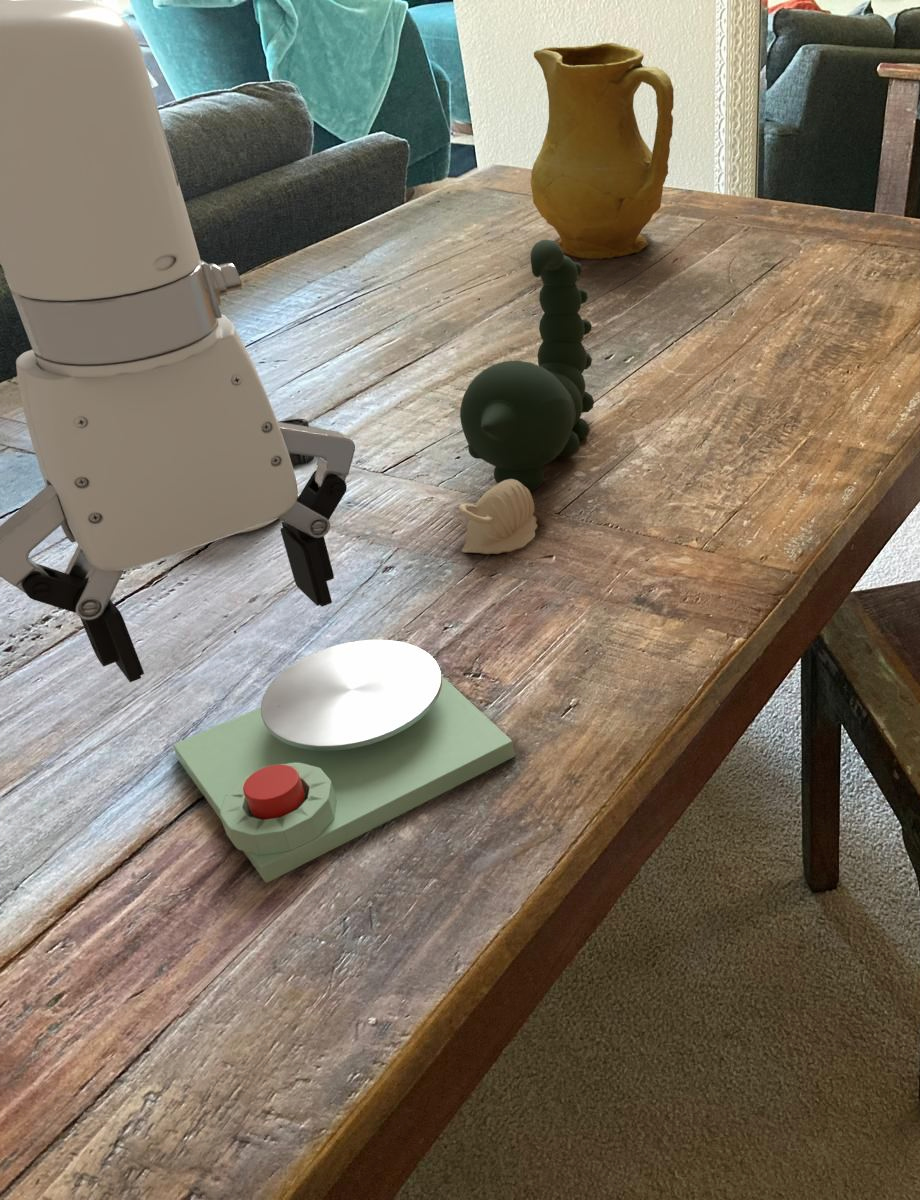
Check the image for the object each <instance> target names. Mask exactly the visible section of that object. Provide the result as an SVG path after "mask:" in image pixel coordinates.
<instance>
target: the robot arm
mask: <svg viewBox="0 0 920 1200" xmlns="http://www.w3.org/2000/svg"><path fill="white" fill-rule="evenodd" d="M158 107H159V106H158V104H157V101H156V97H155V93H154V89H153V86H152V83H151V79H150V76H149V71H148V68H147V65H146V62H145V58H144V55H143V51H142V48H141V46H140V43H139V40H138V38H137V36H136V34H135V32H134V30H133V29H132V27H131V26H130V25H129V23H128V22H127V20H125V18H123V17H122V16H121V15H120V14H119V13H117V12H116V11H114V10H112V9H111V8H110V7H108V6H104V5H102V4H98V3H94V2H91V1H85V0H0V265H1V268H2V272H3V275H4V278H5V280H6V283H7V285H8V287H9V290H10V293H11V297H12V300H13V301H14V304H15V306H16V309H17V312H18V315H19V316H20V319H21V323H22V326H23V328H24V330H25V333H26V335H27V339H28V341H29V344H30V346H31V349H30V350H27V351H25V352H23V353H20V355H19V356H18V357H17V358H16V360H15V365H16V367H15V368H16V376H17V384H18V390H19V394H20V401H21V405H22V411H23V413H24V418H25V421H26V426H27V429H28V433H29V437H30V440H31V445H32V447H33V450H34V454H35V458H36V460H37V464H38V466H39V471H40V472H41V476H42V478H43V482H44V485H45V487H44V488H43V489H42V490H41V491H39V492H38V493H37V494H36V495H35V496H33V497H32V498H31V499H30V500H29V501H28V502H26V504H24V505H23V506H22V507H21V508H19V510H18V511H15V513H14V514H12V515H11V516H10V517H9V518H8V519H7V520H6V521H5V522H3V523H2V524H1V525H0V578H1V579H3V580H5V581H6V582H7V583H9V584H11V585H12V586H13V587H16V588H17V589H18V590H20V591H21V592H23V593H24V594H26V595H27V597H28V598H30V600H33V601H36V602H40V603H42V604H46V605H48V606H52V607H55V608H57V609H62V610H65V611H68V612H71V613H73V614H74V613H75V614H76V615H77V616H78V617H79V618H80V621H81V623H82V625H83V628H84V631H85V633H86V636H87V638H88V640H89V642H90V643H89V644H90V645H91V647H92V650H93V652H94V654H95V656H96V658H97V660H98V661H99V663H100V664H101V666H102V667H107V666H109V665H112V664H114V663H115V664H116V665H117V667H118V669H119V670H120V671H121V673H122V674H123V675H124V676H125V678H126V679H127V681H128V682H129V683H133V682H135V681H137V680H141V679H142V676H143V675H145V672H144V669H143V666H142V664H141V661H140V658H139V656H138V653H137V650H136V648H135V645H134V642H133V640H132V638H131V635H130V633H129V630H128V627H127V624H126V623H125V620H124V617H123V615H122V613H121V611H120V610H119V608H118V607H117V605H115V603H114V602H113V600H112V595H113V594H114V592H115V590H116V588H117V586H118V584H119V582H120V580H121V578H122V575H123V573H124V572H125V571H126V570H127V571H128V570H131V569H136V568H138V567H141V566H145V565H149V564H151V563H155V562H158V561H160V560H163V559H167V558H169V557H172V556H176V555H178V554H181V553H184V552H187V551H189V550H192V549H195V548H199V547H202V546H204V545H208V544H210V543H213V542H216V541H219V540H222V539H224V538H228V537H230V536H234V535H236V534H240V533H239V532H242V531H245V530H248V529H251V528H253V527H256V526H259V525H261V524H264V523H267V522H269V521H272V520H274V519H276V518H278V519H279V520H280V521H282V522H281V526H282V527H280V529H279V531H280V534H281V537H282V541H283V545H284V548H285V552H286V555H287V559H288V562H289V566H290V569H291V573H292V577H293V580H294V583H295V585H296V587H297V588H298V589H299V590H300V591H301V592H302V593H303V594H304V595H305V596H306V597H307V598H308V599H309V600H310V601H311V602H313V604H315V605H316V607H317V606H320V607H325V606H327V605H331V604H332V602H333V601H332V596H331V593H330V589H329V585H328V582H329V581H332V580H333V579H334V578H335V575H334V570H333V567H332V563H331V560H330V559H331V558H330V555H329V551H328V548H327V544H326V539H325V536H326V535H328V533H329V531H330V529H331V523H330V521H329V520H330V519H331V517H332V515H333V514H334V512H335V510H336V509H337V507H338V505H339V504H340V502H341V501H342V499H343V497H344V496H345V494H346V493H347V492H346V491H347V487H348V486H347V483H346V479H347V476H349V475H350V474H349V473H350V471H351V466H352V462H353V458H354V455H355V452H356V444H355V442H354V441H353V440H352V439H351V438H350V437H348V436H347V435H345V434H344V433H343V432H341V431H337V430H332V429H331V430H330V429H326V428H325V429H324V428H318V427H312V426H309V427H307V426H301V425H295V424H289V423H282V422H278V419H277V417H276V415H275V412H274V409H273V407H272V404H271V402H270V399H269V396H268V394H267V391H266V389H265V387H264V384H263V382H262V379H261V378H260V374H259V373H258V371H257V368H256V365H255V363H254V362H253V359H252V358H251V355H250V354H249V351H248V349H247V347H246V346H245V343H244V342H243V339H242V338H241V336H240V335H239V332H238V330H237V329H236V327H235V325H234V323H233V322H232V321H230V320H229V318H228V317H227V316H226V315H224V314H222V313H221V309H220V306H221V303H222V302H221V299H225V298H228V295H230V294H234V293H239V292H241V291H242V289H243V286H242V285H243V284H242V280H241V277H240V274H239V271H238V269H237V268H236V266H235V264H233V263H232V262H226V263H222V264H221V263H220V264H218V265H217V264H215V263H214V262H211V263H207V262H206V261H204V260H202V259H201V257H200V256H201V255H200V253H199V249H198V246H197V242H196V239H195V234H194V231H193V228H192V225H191V224H192V223H191V220H190V218H189V213H188V209H187V206H186V203H185V200H184V196H183V193H182V189H181V185H180V181H179V179H178V175H177V171H176V168H175V164H174V161H173V156H172V154H171V149H170V147H169V143H168V139H167V136H166V132H165V129H164V125H163V122H162V117H161V114H160V111H159V108H158ZM289 453H293V454H300V455H307V456H314V458H317V462H316V466H317V467H316V470H314V471H313V472H312V474H311V476H310V478H309V479H308V481H307V483H305V485H304V488H303V489H302V491H301V492H300V494H299V491H298V482H297V477H296V473H295V469H294V465H292V463H291V459H290V456H289ZM276 520H277V519H276ZM59 527H61V529H62V531H63V533H64V535H65V536H66V538H67V540H69V542H71V543H76V544H77V547H76V548H75V551H74V553H73V555H72V556H71V559H70V561H69V563H68V564H67V567H66V569H65V571H64V572H63V571H60V570H57V569H54V568H52V567H48V566H46V565H42V564H39V563H37V562H35V561H34V560H32V559H31V558H30V557H29V556H30V553H31V552H32V551H33V550H34V549H35V548H36V547H38V546H39V545H40V544H41V543H42V542H43V541H44V540H46V538H48V537H49V536H50V535H51V534H52V533H54V532H55V531H56V530H57V529H58V528H59Z"/></svg>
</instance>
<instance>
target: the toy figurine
mask: <svg viewBox="0 0 920 1200" xmlns="http://www.w3.org/2000/svg"><path fill="white" fill-rule="evenodd" d="M530 265H531V272H532V275H533V276H534V277H535V278H539V277H540V279H541V282H542V283H543V285H542V287H541V289H540V291H539V299H538V301H539V304H540V308H541V310H542V312H543V315H542V316H541V318H540V320H539V326H538V330H539V334H540V338H541V340H542V342H541V343H540V346H539V347H538V351H537V364H535V363H533V362H529V361H523V360H518V359H517V360H506V361H505V360H504V361H502V362H498V363H494V364H492V365H490V366H488V367H487V368H485V369H483V370H481V372H479V373H478V374H477V375H476V376H475V377H474V378H473V379H472V381H471V382H470V383H469V384H468V386H467V388H466V390H465V392H464V394H463V397H462V400H461V404H460V408H459V409H460V410H459V418H460V425H461V429H462V432H463V435H464V437H465V440H466V442H467V444H468V449H467V450H468V453H469V455H470V456H471V457H472V458H474V459H479V460H480V459H481V460H483V461H484V462H485V463H488V464H490V465H492V466H493V467H494V471H493V477H494V481H495V483H496V484H498V483H500V482H502V481H504V480H508V479H514V480H517V481H519V482H520V483H522V484H523V485H524V486H525V487H526V488H528V490H529V491H530V492H532V491H536V490H537V489H538V488H539V487H540V486H541V485H542V484H543V481H544V475H545V474H544V469H543V468H542V467H543V466H545V465H547V464H549V463H550V462H552V461H554V460H555V459H556V458H557V457H558V456H560V457H561V458H571V457H573V456H574V455H576V454H577V453H578V451H579V449H580V447H581V442H580V441H582V440H584V439H585V438H587V437H588V436H589V433H590V426H589V424H588V422H587V421H586V419H584V418H581V417H582V414H583V413H589V412H590V411H591V410H593V408H594V404H595V399H594V397H593V396H592V394H590V393H589V392H587V391H586V382H585V378H584V375H583V373H584V371H585V370H588V369H589V368H590V367H591V366H592V361H593V358H592V356H591V354H590V353H588V352H587V351H586V349H585V346H584V344H583V343H582V341H583V339H584V337H585V335H588V334H589V333H591V332H592V328H593V327H592V323H591V321H590V320H588V319H585V318H584V319H583V318H582V316H581V315H580V314H579V311H580V310H581V306H582V305H583V304H585V303H587V300H588V299H589V298H588V297H589V296H588V292H587V291H586V290H585V289H584V288H582V287H578V285H577V284H576V283H577V282H578V277H579V276H580V275H581V274H582V272H583V266H582V265H581V263H580V262H578V261H573V260H572V259H571V258H570V256H567V255H566V254H565V253H563V250H562V248H561V247H560V246H559V245H558V244H557V241H554V240H550V239H541V240H540V241H538V242H536V243H535V244H534V245H533V246H532V248H531V252H530Z"/></svg>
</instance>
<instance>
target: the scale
mask: <svg viewBox="0 0 920 1200" xmlns="http://www.w3.org/2000/svg"><path fill="white" fill-rule="evenodd" d="M172 747H173V750H174V752H175V755H176V757H177V760H178V762H179V763H180V765H181V766H182V767H183V769H184V771H185V772H186V773H187V774H188V776H189V777H190V779H191V780H192V782H193V783H194V784H195V786H196V787H197V789H198V790H199V791H200V793H201V794H202V795H203V797H204V798H205V800H206V801H207V802H208V804H209V805H210V807H211V809H213V811H214V813H215V814H216V816H217V817H218V818H219V819H220V821H221V823H222V825H223V829H224V832H225V834H226V836H227V837H228V839H229V840H230V842H231V843H232V845H233V846H234V847H235V848H236V849H237V850H239V851H242V852H243V853H244V855H245V856H246V857H247V859H248V860H249V861H250V863H251V864H252V866H253V867H254V869H255V870H256V871H257V873H258V874H259V876H260V877H261V878H262V881H264V883H266V884H267V883H270V882H271V881H273V880H276V879H278V878H279V877H281V876H283V875H285V874H287V873H289V872H291V871H293V870H295V869H296V868H299V867H301V866H303V865H305V864H306V863H310V861H313V860H315V859H316V858H318V857H320V856H322V855H324V854H326V853H328V852H330V851H332V850H335V849H336V848H338V847H340V846H342V845H344V844H346V843H349V842H350V841H352V840H354V839H356V838H358V837H359V836H362V835H364V834H366V833H367V832H369V831H371V830H373V829H375V828H377V827H379V826H382V825H384V824H385V823H387V822H390V821H391V820H393V819H396V818H397V817H399V816H401V815H403V814H405V813H407V812H408V811H410V810H411V811H412V809H415V808H417V807H418V806H421V805H423V804H424V803H426V802H428V801H431V800H433V799H434V798H436V797H438V796H440V795H442V794H444V793H446V792H448V791H451V790H452V789H454V788H456V787H458V786H460V785H462V784H464V783H466V782H468V781H469V780H472V779H473V778H476V777H477V776H479V775H481V774H483V773H485V772H487V771H490V770H491V769H493V768H495V767H497V766H499V765H501V764H503V763H505V762H507V761H508V760H511V759H512V758H515V757H516V754H515V753H516V752H515V747H514V742H513V740H512V739H511V738H510V737H509V736H508V735H506V733H504V732H503V731H502V730H501V729H500V728H499V727H498V726H497V725H496V724H495V723H494V722H493V721H491V719H489V717H487V716H486V715H485V714H484V713H483V712H482V711H481V710H480V709H479V708H478V707H476V705H474V704H473V703H472V702H471V701H470V700H469V699H468V698H467V697H466V696H465V695H464V694H462V693H461V692H460V691H459V689H457V688H456V687H454V685H453V684H452V683H450V681H448V680H447V679H446V677H444V676H443V675H442V687H441V691H440V694H439V697H438V699H437V700H436V702H435V704H434V705H433V706H432V707H431V709H430V710H429V711H428V712H427V713H426V714H425V715H424V716H423V717H422V718H421V719H419V720H418V721H417V722H416V723H414V724H413V725H411V726H410V727H408V728H407V729H405V730H403V731H401V732H400V733H398V734H396V735H394V736H391V737H389V738H387V739H384V740H382V741H379V742H376V743H373V744H370V745H366V746H362V747H358V748H352V749H346V750H336V751H317V750H307V749H302V748H297V747H294V746H291V745H288V744H286V743H284V742H282V741H280V740H279V739H277V738H276V737H274V736H273V735H272V734H271V733H270V732H269V731H268V729H267V728H266V726H265V724H264V722H263V719H262V716H261V706H260V707H258V708H255V709H253V710H251V711H247V712H246V713H244V714H241V715H239V716H236V717H233V718H232V719H229V720H227V721H225V722H223V723H219V724H218V725H216V726H213V727H210V728H208V729H206V730H203V731H202V732H199V733H197V734H194V735H191V736H189V737H187V738H185V739H183V740H180V741H178V742H175V743H173V744H172ZM272 765H288V766H291V767H293V768H295V769H296V770H297V771H298V773H299V776H300V779H301V783H302V786H303V789H304V792H305V797H304V801H303V803H302V804H301V805H300V807H299V808H298V809H296V810H295V811H293V812H291V813H289V814H286V815H284V816H282V817H280V818H273V819H260V818H257V817H255V816H254V815H253V814H252V813H251V812H250V809H249V806H248V804H247V801H246V798H245V795H244V792H243V786H244V783H245V781H246V780H247V779H248V778H249V777H250V776H251V775H252V774H253V773H255V772H256V771H258V770H260V769H262V768H265V767H268V766H272Z"/></svg>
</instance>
